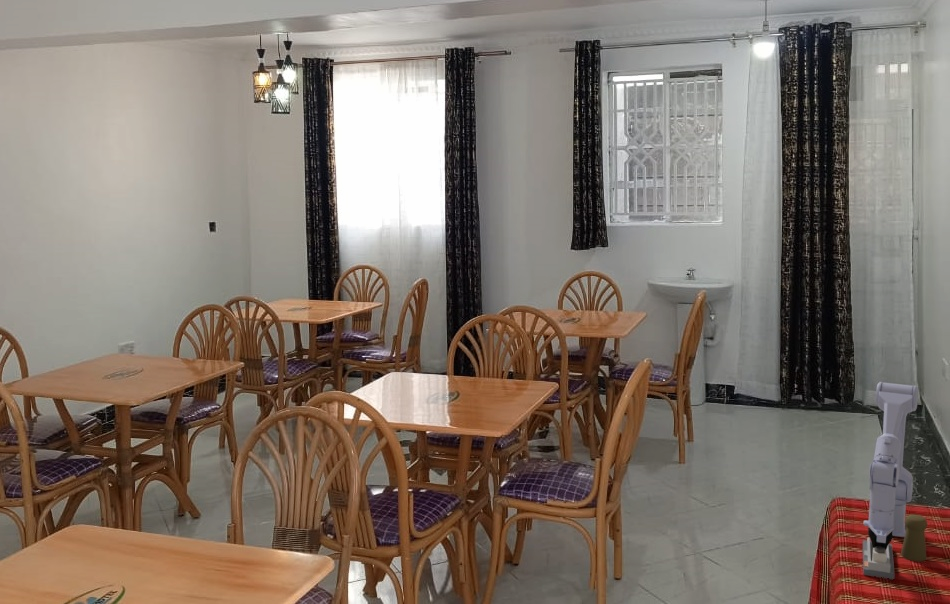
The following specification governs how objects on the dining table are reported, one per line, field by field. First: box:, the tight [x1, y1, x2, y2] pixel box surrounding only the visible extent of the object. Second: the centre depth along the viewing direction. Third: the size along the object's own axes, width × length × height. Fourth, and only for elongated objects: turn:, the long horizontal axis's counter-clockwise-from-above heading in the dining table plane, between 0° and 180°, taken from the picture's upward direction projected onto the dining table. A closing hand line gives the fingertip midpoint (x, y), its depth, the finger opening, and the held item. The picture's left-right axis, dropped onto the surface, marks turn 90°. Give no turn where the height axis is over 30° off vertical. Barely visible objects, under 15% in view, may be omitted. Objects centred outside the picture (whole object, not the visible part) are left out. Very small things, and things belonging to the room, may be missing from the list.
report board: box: [862, 536, 895, 580], centre depth 222 cm, size 18×7×4 cm, turn 156°
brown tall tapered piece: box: [900, 514, 928, 562], centre depth 224 cm, size 6×6×11 cm
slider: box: [872, 546, 886, 563], centre depth 216 cm, size 3×3×5 cm
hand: (878, 557), depth 219 cm, fingers closed
